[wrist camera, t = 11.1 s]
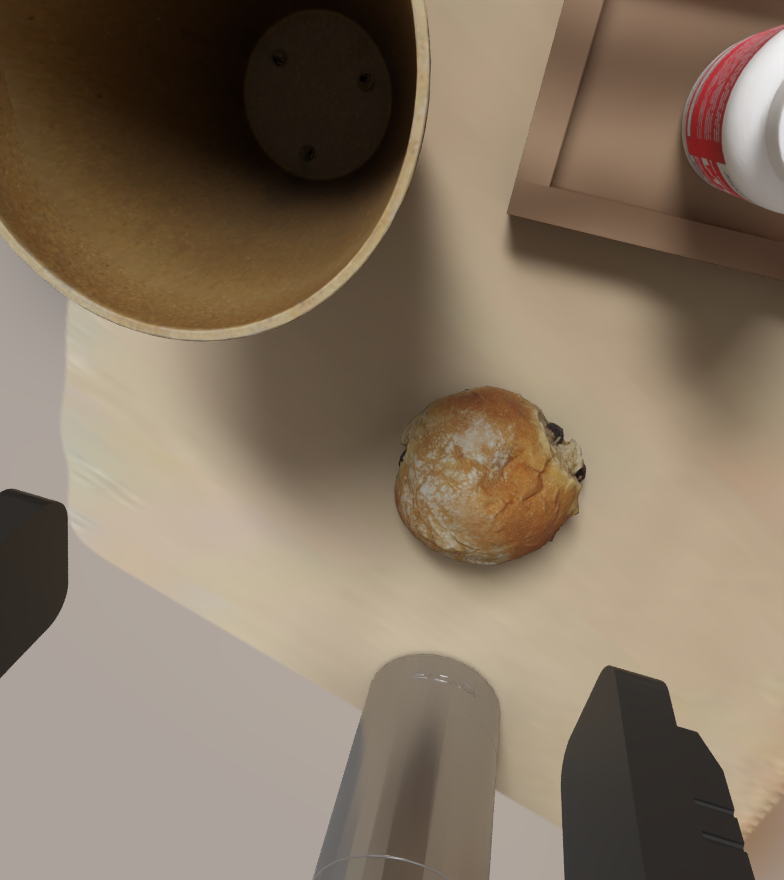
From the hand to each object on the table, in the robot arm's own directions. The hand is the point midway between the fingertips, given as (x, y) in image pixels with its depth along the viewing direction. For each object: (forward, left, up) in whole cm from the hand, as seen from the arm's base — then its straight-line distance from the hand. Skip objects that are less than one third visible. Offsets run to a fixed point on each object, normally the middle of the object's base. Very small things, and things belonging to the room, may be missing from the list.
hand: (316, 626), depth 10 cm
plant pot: (+6, +9, -28) cm, 30 cm away
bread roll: (-11, -4, -28) cm, 30 cm away
